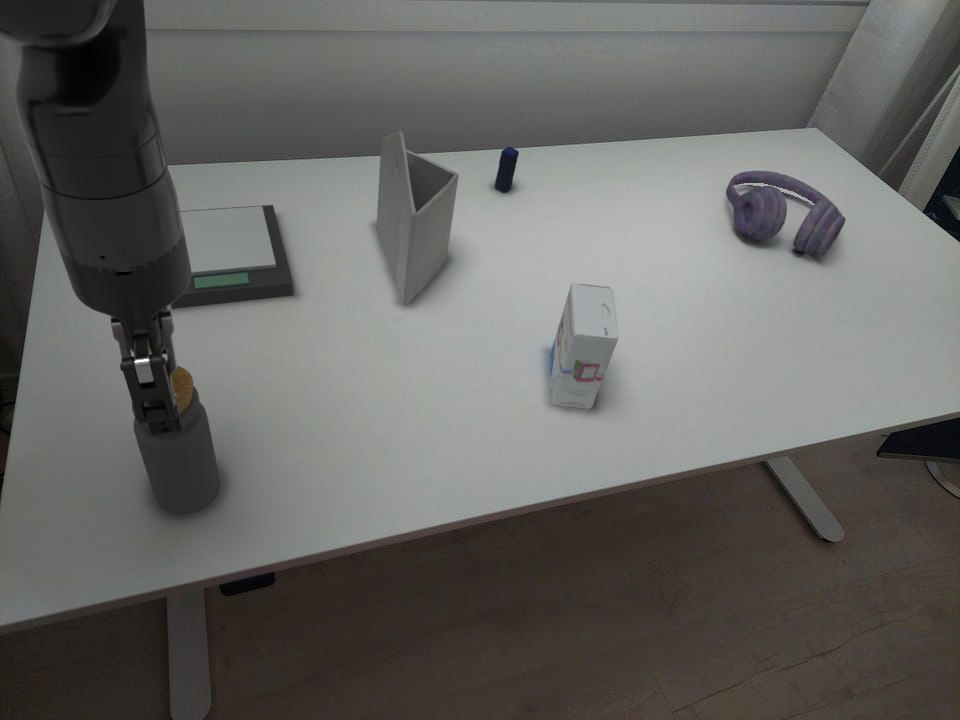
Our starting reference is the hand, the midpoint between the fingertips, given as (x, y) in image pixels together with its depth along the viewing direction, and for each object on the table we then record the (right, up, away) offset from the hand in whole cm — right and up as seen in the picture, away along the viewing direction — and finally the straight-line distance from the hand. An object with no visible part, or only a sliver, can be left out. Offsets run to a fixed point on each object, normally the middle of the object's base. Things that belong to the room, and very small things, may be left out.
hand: (163, 389), depth 58 cm
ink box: (+36, 0, +28) cm, 46 cm away
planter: (+17, +15, +38) cm, 45 cm away
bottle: (-2, -10, +10) cm, 15 cm away
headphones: (+74, +25, +59) cm, 98 cm away
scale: (-7, +15, +32) cm, 36 cm away
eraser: (+29, +29, +54) cm, 67 cm away
